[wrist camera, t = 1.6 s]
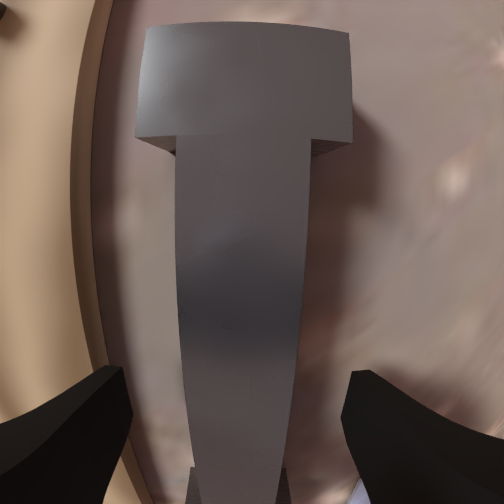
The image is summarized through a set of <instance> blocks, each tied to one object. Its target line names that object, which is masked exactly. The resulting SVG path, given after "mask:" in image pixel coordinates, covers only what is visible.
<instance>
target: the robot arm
mask: <svg viewBox="0 0 504 504" xmlns="http://www.w3.org/2000/svg"><path fill="white" fill-rule="evenodd" d="M132 417H133V411H132V407H131V403H130V399H129V395H128V391H127V386H126V382H125V377H124V373H123V368H122V367H116V366H109V365H105V366H103V367H101V368H99V369H98V370H96V371H95V372H93V373H92V374H90V375H88V376H87V377H85V378H84V379H82V380H81V381H79V382H78V383H76V384H75V385H73V386H72V387H70V388H69V389H67V390H66V391H64V392H63V393H61V394H59V395H58V396H56V397H54V398H52V399H51V400H49V401H47V402H46V403H44V404H42V405H40V406H39V407H37V408H35V409H33V410H31V411H29V412H27V413H25V414H23V415H20V416H18V417H16V418H13V419H11V420H9V421H6V422H3V423H0V504H103V501H104V497H105V494H106V491H107V488H108V486H109V483H110V481H111V478H112V475H113V473H114V470H115V468H116V466H117V463H118V461H119V458H120V456H121V453H122V451H123V448H124V446H125V443H126V440H127V437H128V434H129V430H130V426H131V421H132ZM341 421H342V426H343V430H344V434H345V438H346V442H347V445H348V447H349V450H350V452H351V455H352V457H353V460H354V462H355V465H356V467H357V470H358V472H359V474H360V477H361V478H360V479H359V480H358V482H357V484H356V486H355V488H354V490H353V492H352V494H351V496H350V497H349V499H348V501H347V503H346V504H504V439H500V438H496V437H493V436H489V435H486V434H483V433H480V432H477V431H474V430H471V429H469V428H466V427H464V426H462V425H460V424H457V423H455V422H453V421H451V420H449V419H447V418H445V417H443V416H441V415H439V414H437V413H436V412H434V411H432V410H430V409H428V408H427V407H425V406H424V405H422V404H420V403H419V402H417V401H416V400H414V399H412V398H411V397H409V396H408V395H406V394H405V393H403V392H402V391H400V390H399V389H398V388H396V387H395V386H393V385H392V384H390V383H389V382H387V381H386V380H385V379H383V378H382V377H380V376H379V375H377V374H376V373H374V372H372V371H371V370H360V371H352V373H351V378H350V382H349V386H348V390H347V394H346V398H345V402H344V406H343V410H342V414H341Z"/></svg>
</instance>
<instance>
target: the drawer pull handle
mask: <svg viewBox="0 0 504 504" xmlns="http://www.w3.org/2000/svg"><path fill="white" fill-rule="evenodd" d="M135 138H137V139H139V140H142V141H144V142H147V143H149V144H152V145H154V146H156V147H159V148H161V149H164V150H166V151H168V152H176V163H175V257H176V285H177V305H178V321H179V335H180V348H181V360H182V370H183V380H184V390H185V398H186V407H187V415H188V423H189V430H190V437H191V444H192V451H193V457H194V463H195V467H191V469H190V475H189V482H188V489H187V496H186V502H185V504H291V499H290V492H289V486H288V479H287V472H286V468H284V469H281V468H282V462H283V456H284V449H285V443H286V436H287V430H288V423H289V416H290V409H291V401H292V393H293V386H294V377H295V369H296V360H297V351H298V342H299V332H300V322H301V312H302V301H303V289H304V276H305V263H306V248H307V232H308V213H309V191H310V162H311V155H320V154H323V153H326V152H328V151H331V150H334V149H337V148H340V147H343V146H345V145H348V144H351V143H353V105H352V75H351V57H350V42H349V33H346V32H340V31H335V30H329V29H322V28H316V27H308V26H300V25H290V24H279V23H263V22H198V23H183V24H172V25H162V26H154V27H147V30H146V36H145V43H144V49H143V57H142V64H141V72H140V81H139V90H138V101H137V113H136V128H135Z"/></svg>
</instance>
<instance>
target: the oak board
mask: <svg viewBox="0 0 504 504" xmlns="http://www.w3.org/2000/svg"><path fill="white" fill-rule="evenodd" d="M113 1H114V0H0V423H3V422H6V421H9V420H11V419H13V418H16V417H18V416H20V415H23V414H25V413H27V412H29V411H31V410H33V409H35V408H37V407H39V406H40V405H42V404H44V403H46V402H47V401H49V400H51V399H52V398H54V397H56V396H58V395H59V394H61V393H63V392H64V391H66V390H67V389H69V388H70V387H72V386H73V385H75V384H76V383H78V382H79V381H81V380H82V379H84V378H85V377H87V376H88V375H90V374H92V373H93V372H95V371H96V370H98V369H99V368H101V367H103V366H105V365H109V360H108V355H107V351H106V345H105V340H104V335H103V329H102V323H101V317H100V310H99V303H98V296H97V288H96V279H95V269H94V258H93V246H92V229H91V198H90V176H91V145H92V129H93V117H94V106H95V97H96V89H97V81H98V74H99V67H100V61H101V55H102V50H103V45H104V39H105V35H106V30H107V25H108V21H109V17H110V12H111V8H112V5H113ZM109 366H110V365H109ZM103 504H154V503H153V500H152V498H151V496H150V493H149V491H148V489H147V486H146V484H145V481H144V479H143V476H142V473H141V471H140V468H139V465H138V463H137V460H136V457H135V454H134V451H133V448H132V445H131V442H130V439H129V436H128V437H127V440H126V443H125V446H124V448H123V451H122V453H121V456H120V458H119V461H118V463H117V466H116V468H115V470H114V473H113V475H112V478H111V481H110V483H109V486H108V488H107V491H106V494H105V497H104V501H103Z"/></svg>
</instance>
